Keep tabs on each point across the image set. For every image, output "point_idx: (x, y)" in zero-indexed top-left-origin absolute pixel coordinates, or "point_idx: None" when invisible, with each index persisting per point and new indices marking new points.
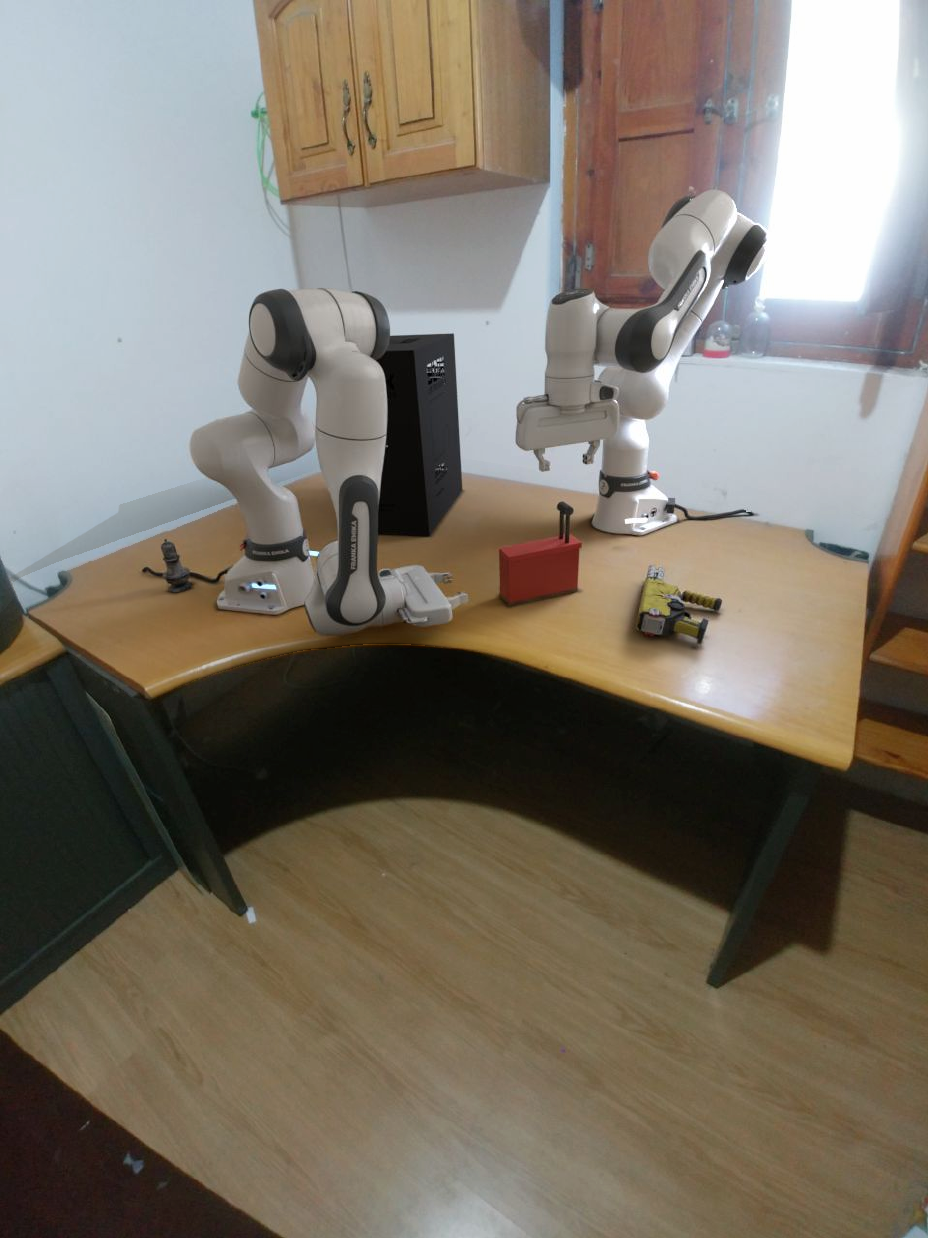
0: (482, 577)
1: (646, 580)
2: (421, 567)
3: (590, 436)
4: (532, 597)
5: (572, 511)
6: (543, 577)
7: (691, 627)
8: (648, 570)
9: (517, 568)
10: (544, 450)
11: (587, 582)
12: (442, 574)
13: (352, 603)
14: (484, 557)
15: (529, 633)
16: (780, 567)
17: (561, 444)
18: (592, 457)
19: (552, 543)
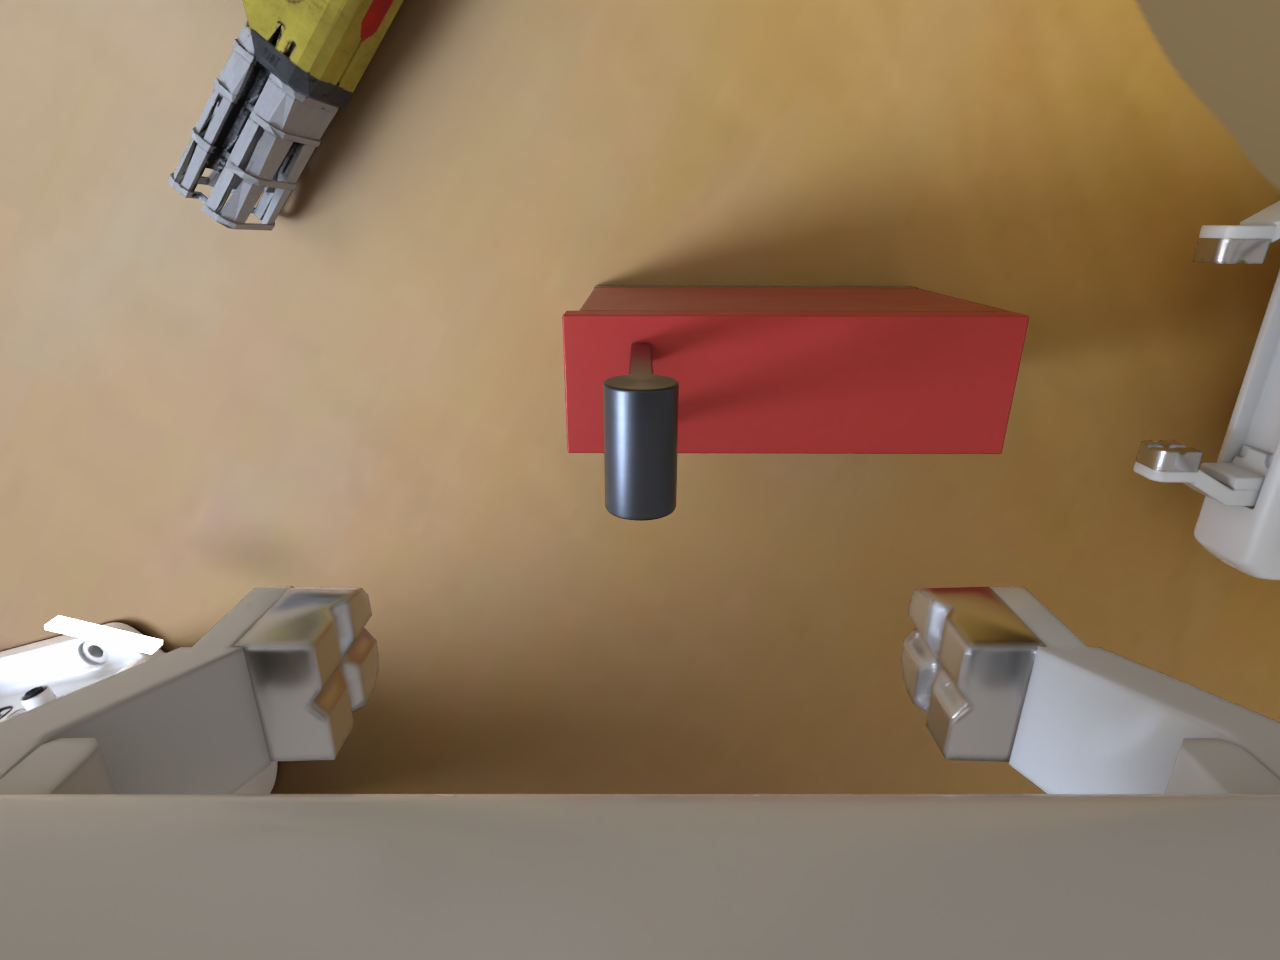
0: (873, 556)
1: (319, 53)
2: (1267, 547)
3: (22, 878)
4: (811, 287)
5: (612, 381)
6: (775, 297)
7: None
8: (255, 183)
9: (941, 306)
10: (1235, 787)
11: (519, 341)
12: (1197, 473)
13: None
14: (783, 696)
15: (963, 23)
16: None
17: (935, 799)
18: (238, 623)
19: (719, 377)
